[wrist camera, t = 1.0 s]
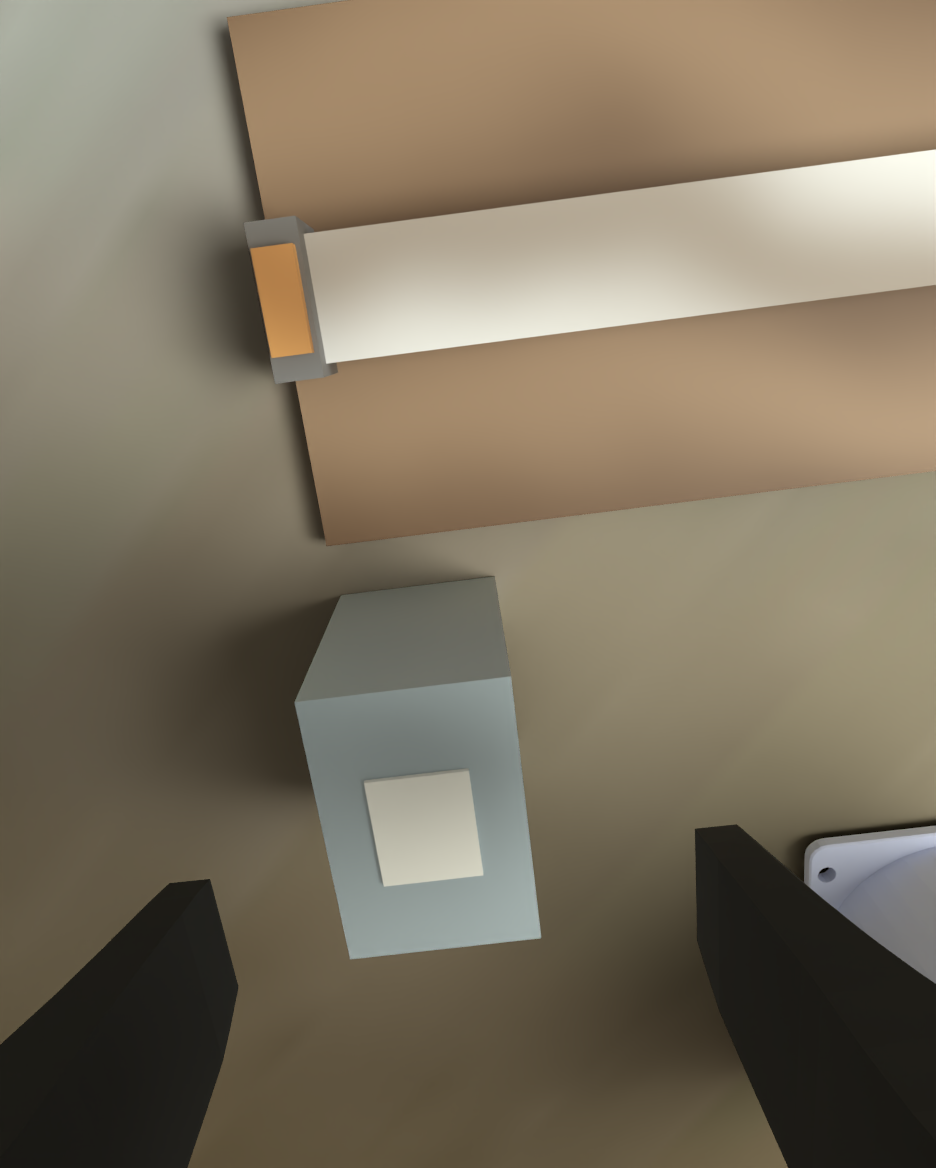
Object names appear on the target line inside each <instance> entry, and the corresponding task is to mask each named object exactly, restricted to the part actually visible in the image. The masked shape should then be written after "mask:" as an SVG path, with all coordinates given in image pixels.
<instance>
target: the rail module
mask: <svg viewBox="0 0 936 1168" xmlns="http://www.w3.org/2000/svg"><path fill="white" fill-rule="evenodd" d="M295 707H296V712H297V716H298V721H299V725H300V730H301V735H302V739H303V744H304V749H305V753H306V758H307V762H308V767H309V772H310V776H311V781H312V785H313V790H314V795H315V799H316V804H317V808H318V813H319V818H320V822H321V827H322V831H323V836H324V841H325V845H326V850H327V854H328V859H329V864H330V868H331V873H332V877H333V882H334V887H335V891H336V896H337V900H338V905H339V910H340V914H341V919H342V924H343V928H344V933H345V937H346V942H347V947H348V951H349V956H350V959H358V958H367V957H376V956H385V955H394V954H403V953H412V952H421V951H430V950H439V949H448V948H457V947H466V946H475V945H484V944H493V943H502V942H511V941H520V940H529V939H538V938H541V932H540V923H539V915H538V906H537V897H536V889H535V880H534V871H533V863H532V854H531V846H530V837H529V828H528V820H527V811H526V802H525V794H524V785H523V776H522V768H521V759H520V750H519V742H518V733H517V724H516V716H515V707H514V699H513V690H512V681H511V674H510V668H509V662H508V655H507V649H506V643H505V637H504V631H503V625H502V619H501V613H500V607H499V601H498V594H497V588H496V582H495V576H494V577H485V578H477V579H469V580H461V581H453V582H445V583H436V584H428V585H420V586H412V587H404V588H396V589H387V590H379V591H371V592H363V593H355V594H347V595H341V596H340V599H339V601H338V603H337V605H336V608H335V610H334V612H333V615H332V617H331V619H330V622H329V624H328V626H327V628H326V631H325V633H324V635H323V638H322V640H321V642H320V645H319V647H318V649H317V651H316V654H315V656H314V658H313V661H312V663H311V665H310V668H309V670H308V672H307V675H306V677H305V679H304V681H303V684H302V686H301V688H300V691H299V693H298V695H297V698H296V700H295Z"/></svg>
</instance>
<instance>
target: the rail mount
mask: <svg viewBox="0 0 936 1168" xmlns="http://www.w3.org/2000/svg"><path fill="white" fill-rule="evenodd" d="M227 21H228V26H229V32H230V37H231V42H232V47H233V53H234V58H235V63H236V69H237V74H238V79H239V85H240V90H241V95H242V100H243V106H244V111H245V116H246V122H247V127H248V132H249V138H250V143H251V148H252V153H253V159H254V164H255V169H256V175H257V180H258V185H259V191H260V196H261V201H262V206H263V212H264V217H265V220H259V221H251V222H244V228H245V233H246V238H247V243H248V249H249V254H250V259H251V264H252V269H253V274H254V279H255V284H256V289H257V294H258V299H259V304H260V309H261V314H262V320H263V325H264V330H265V335H266V340H267V345H268V350H269V355H270V360H271V365H272V370H273V375H274V380H275V384H277V383H285V382H293V381H296V387H297V392H298V397H299V403H300V408H301V413H302V419H303V424H304V429H305V434H306V440H307V445H308V450H309V456H310V461H311V466H312V472H313V477H314V482H315V487H316V493H317V498H318V503H319V509H320V514H321V519H322V525H323V530H324V535H325V540H326V546H332V545H340V544H348V543H356V542H364V541H372V540H380V539H388V538H397V537H405V536H413V535H421V534H429V533H437V532H445V531H453V530H461V529H469V528H477V527H485V526H494V525H502V524H510V523H518V522H526V521H534V520H542V519H550V518H558V517H566V516H574V515H582V514H591V513H599V512H607V511H615V510H623V509H631V508H639V507H647V506H655V505H663V504H671V503H679V502H688V501H696V500H704V499H712V498H720V497H728V496H736V495H744V494H752V493H760V492H768V491H776V490H785V489H793V488H801V487H809V486H817V485H825V484H833V483H841V482H849V481H857V480H865V479H873V478H882V477H890V476H898V475H906V474H914V473H922V472H930V471H936V0H347V1H340V2H333V3H326V4H319V5H312V6H304V7H297V8H290V9H283V10H276V11H269V12H262V13H255V14H248V15H240V16H233V17H227Z"/></svg>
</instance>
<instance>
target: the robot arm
mask: <svg viewBox="0 0 936 1168" xmlns="http://www.w3.org/2000/svg"><path fill="white" fill-rule="evenodd" d="M695 850H696V901H697V941H698V945H699V948H700V951H701V954H702V958H703V961H704V964H705V967H706V971H707V974H708V977H709V980H710V983H711V987H712V990H713V993H714V996H715V999H716V1002H717V1005H718V1008H719V1011H720V1013H721V1016H722V1018H723V1020H724V1023H725V1025H726V1027H727V1030H728V1032H729V1034H730V1037H731V1039H732V1041H733V1043H734V1046H735V1048H736V1050H737V1053H738V1055H739V1057H740V1060H741V1062H742V1064H743V1066H744V1069H745V1071H746V1073H747V1075H748V1078H749V1080H750V1082H751V1084H752V1087H753V1089H754V1091H755V1094H756V1096H757V1098H758V1100H759V1103H760V1105H761V1107H762V1109H763V1112H764V1114H765V1116H766V1118H767V1121H768V1123H769V1125H770V1127H771V1130H772V1132H773V1134H774V1136H775V1139H776V1141H777V1143H778V1145H779V1148H780V1150H781V1152H782V1154H783V1157H784V1159H785V1161H786V1164H787V1166H788V1168H936V826H927V827H919V828H910V829H901V830H892V831H883V832H874V833H865V834H857V835H848V836H839V837H830V838H822V839H818V840H815V841H814V842H812V843H811V844H810V845H809V846H808V847H807V849H806V851H805V861H804V882H803V881H801V880H800V879H799V878H798V877H797V876H796V875H794V874H793V873H792V872H791V871H790V870H789V869H788V868H786V867H785V866H784V865H783V864H782V863H781V862H779V861H778V860H777V859H776V858H775V857H774V856H773V855H771V854H770V853H769V852H768V851H767V850H766V849H765V848H764V847H762V846H761V845H760V844H759V843H758V842H757V841H756V840H754V839H753V838H752V837H751V836H750V835H749V834H747V833H746V832H745V831H744V830H743V829H742V828H740V827H739V826H738V825H728V826H718V827H708V828H699V829H695ZM827 867H829V869H828V870H827V871H826V872H823V873H819V872H820V871H821V870H822V869H824V868H827ZM237 991H238V984H237V980H236V976H235V972H234V968H233V965H232V961H231V957H230V953H229V950H228V946H227V942H226V938H225V934H224V931H223V927H222V923H221V919H220V916H219V912H218V908H217V904H216V900H215V897H214V893H213V889H212V885H211V881H210V879H207V880H197V881H187V882H178V883H169V884H168V885H167V886H166V887H165V888H164V889H163V890H162V891H161V892H160V893H158V894H157V895H156V896H155V897H154V898H153V899H152V900H151V901H150V902H149V903H148V904H147V905H146V906H145V907H144V908H143V909H142V910H141V911H140V912H139V913H138V914H137V915H136V916H135V917H134V918H133V919H132V920H131V921H130V922H129V923H128V924H127V925H126V926H125V927H124V928H123V929H122V930H121V931H120V932H119V933H118V934H117V935H116V936H115V937H114V938H113V939H112V940H111V941H110V942H109V943H108V944H107V945H106V946H105V947H104V948H103V949H102V950H101V951H100V952H99V953H98V954H97V955H96V956H95V957H94V958H93V959H91V960H90V961H89V962H88V963H87V964H86V965H85V966H84V967H83V968H82V969H81V970H80V971H79V972H78V973H77V974H76V975H75V976H74V977H73V978H72V979H71V980H70V981H69V982H68V983H67V984H66V985H65V986H64V987H63V988H62V989H61V990H60V991H59V992H58V993H57V994H56V995H54V996H53V997H52V998H51V999H50V1000H49V1001H48V1002H47V1003H46V1004H45V1005H44V1006H42V1007H41V1008H40V1009H39V1010H38V1011H37V1012H36V1013H35V1014H34V1015H33V1016H31V1017H30V1018H29V1019H28V1020H27V1021H26V1022H25V1023H24V1024H23V1025H22V1026H20V1027H19V1028H18V1029H17V1030H16V1031H15V1032H14V1033H13V1034H12V1035H11V1036H9V1037H8V1038H7V1039H6V1040H5V1041H4V1042H3V1043H2V1044H1V1045H0V1168H187V1167H188V1164H189V1161H190V1158H191V1155H192V1152H193V1149H194V1146H195V1143H196V1140H197V1137H198V1134H199V1131H200V1128H201V1126H202V1123H203V1120H204V1117H205V1114H206V1111H207V1108H208V1104H209V1101H210V1098H211V1095H212V1092H213V1089H214V1086H215V1083H216V1080H217V1077H218V1074H219V1071H220V1068H221V1065H222V1062H223V1058H224V1053H225V1049H226V1044H227V1040H228V1036H229V1031H230V1027H231V1022H232V1017H233V1012H234V1006H235V1001H236V996H237Z"/></svg>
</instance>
